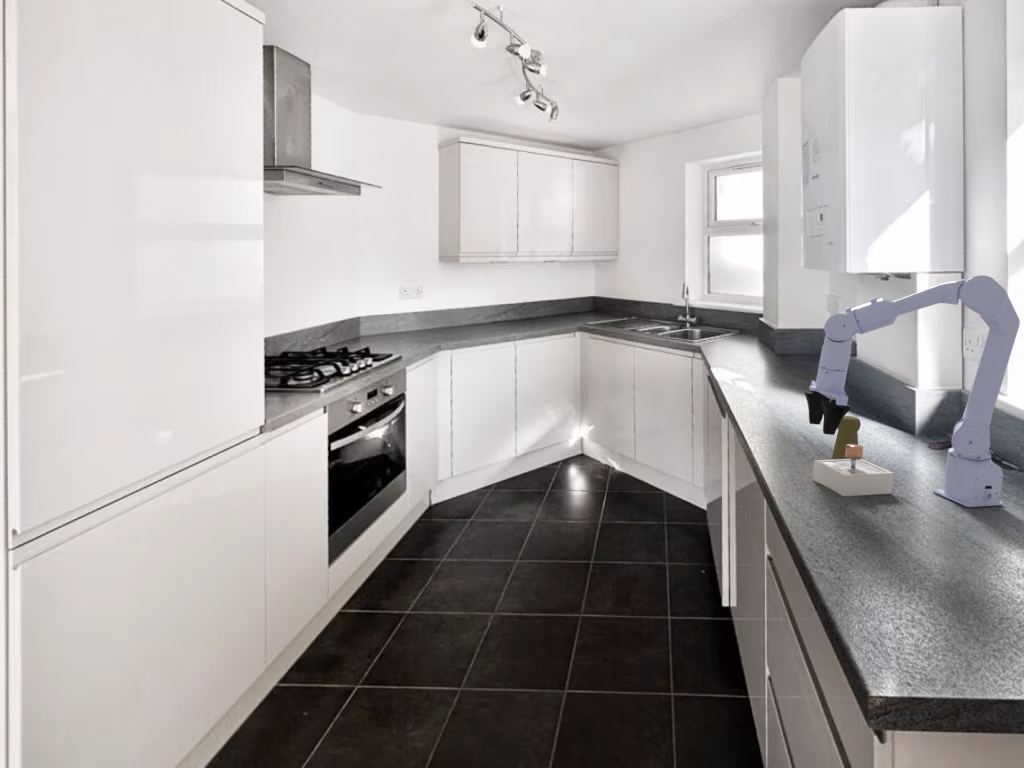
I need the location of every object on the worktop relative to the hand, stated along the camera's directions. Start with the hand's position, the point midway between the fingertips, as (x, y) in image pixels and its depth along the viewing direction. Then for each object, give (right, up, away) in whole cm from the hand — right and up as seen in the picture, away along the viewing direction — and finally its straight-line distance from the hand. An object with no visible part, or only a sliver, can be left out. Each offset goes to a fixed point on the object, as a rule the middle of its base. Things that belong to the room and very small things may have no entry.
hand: (821, 428), depth 154 cm
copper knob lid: (+4, -8, -7) cm, 11 cm away
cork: (+11, -9, +12) cm, 19 cm away
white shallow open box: (+4, -12, -6) cm, 14 cm away
